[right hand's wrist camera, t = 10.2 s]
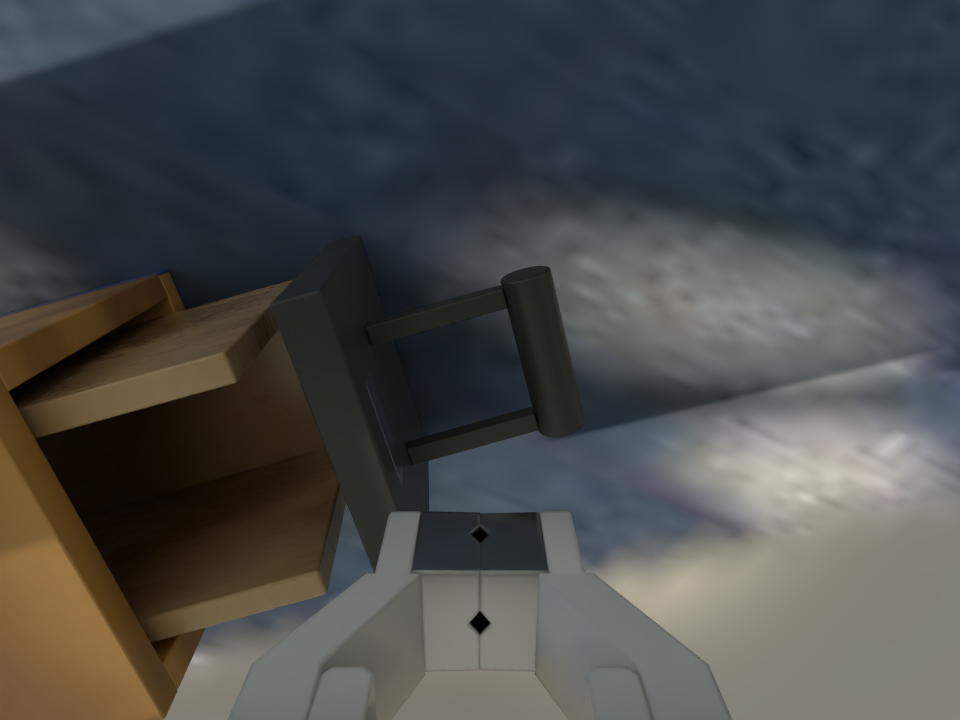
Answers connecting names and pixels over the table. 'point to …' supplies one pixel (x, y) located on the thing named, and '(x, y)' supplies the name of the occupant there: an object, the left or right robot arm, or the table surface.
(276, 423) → the drawer
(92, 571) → the cabinet
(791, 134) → the table surface
